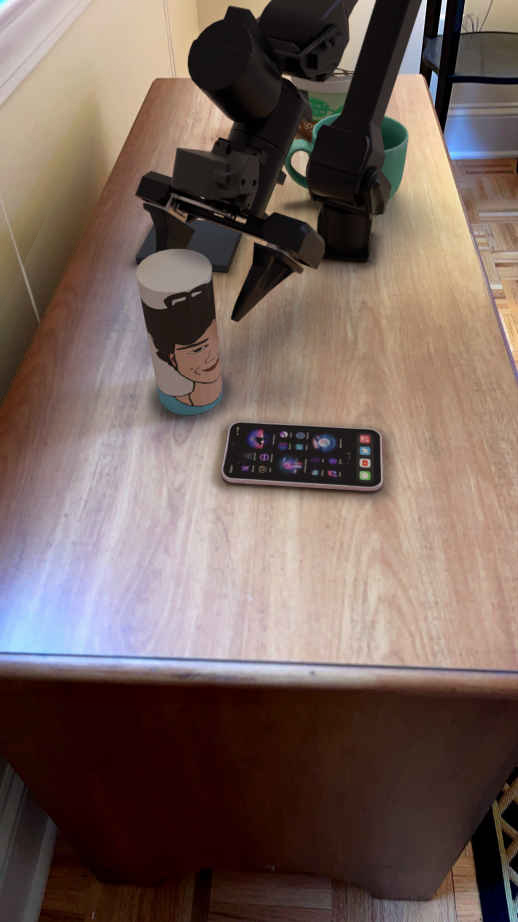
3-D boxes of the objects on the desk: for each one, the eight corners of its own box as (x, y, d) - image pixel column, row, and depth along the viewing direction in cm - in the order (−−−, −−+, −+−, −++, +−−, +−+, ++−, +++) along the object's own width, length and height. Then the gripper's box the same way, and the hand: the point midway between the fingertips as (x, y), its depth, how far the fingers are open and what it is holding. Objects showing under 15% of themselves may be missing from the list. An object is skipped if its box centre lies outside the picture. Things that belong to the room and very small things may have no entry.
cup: (188, 425, 69) (169, 302, 58) (145, 393, 73) (120, 271, 61) (235, 391, 73) (227, 268, 61) (193, 362, 76) (177, 240, 64)
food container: (281, 141, 110) (281, 74, 102) (291, 125, 114) (292, 58, 106) (357, 150, 107) (363, 81, 100) (365, 133, 111) (371, 65, 104)
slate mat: (243, 230, 93) (243, 223, 92) (227, 272, 87) (227, 265, 86) (158, 222, 95) (157, 216, 94) (136, 263, 88) (135, 257, 88)
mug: (392, 175, 102) (400, 109, 95) (406, 220, 94) (417, 151, 87) (280, 180, 102) (280, 113, 95) (285, 225, 94) (285, 156, 86)
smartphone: (383, 488, 63) (220, 478, 64) (382, 492, 63) (220, 482, 64) (381, 428, 68) (230, 420, 69) (380, 433, 68) (230, 424, 69)
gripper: (131, 80, 60) (70, 251, 63) (314, 129, 53) (237, 320, 55) (195, 137, 70) (140, 282, 73) (355, 185, 63) (288, 344, 66)
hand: (195, 304), depth 66 cm, fingers open, 9 cm apart
